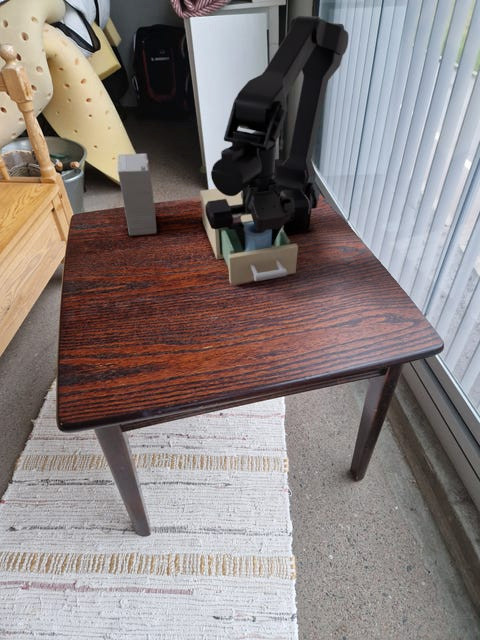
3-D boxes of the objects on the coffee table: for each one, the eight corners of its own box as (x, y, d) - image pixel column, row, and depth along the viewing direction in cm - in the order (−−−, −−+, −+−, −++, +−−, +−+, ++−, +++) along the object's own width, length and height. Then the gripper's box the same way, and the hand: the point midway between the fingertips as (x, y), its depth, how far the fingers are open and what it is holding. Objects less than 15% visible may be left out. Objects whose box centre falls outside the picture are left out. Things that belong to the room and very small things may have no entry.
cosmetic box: (128, 218, 102) (114, 154, 91) (158, 215, 103) (147, 150, 92) (128, 237, 96) (113, 170, 85) (160, 234, 97) (148, 167, 86)
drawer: (304, 287, 81) (307, 260, 76) (236, 299, 78) (235, 273, 74) (273, 234, 94) (274, 209, 90) (214, 244, 92) (213, 218, 87)
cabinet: (282, 248, 92) (284, 215, 86) (216, 259, 89) (214, 226, 84) (261, 213, 103) (262, 182, 97) (202, 222, 100) (199, 190, 94)
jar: (266, 241, 86) (266, 219, 83) (274, 256, 82) (275, 233, 79) (240, 245, 85) (240, 223, 82) (247, 261, 82) (247, 238, 78)
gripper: (215, 200, 65) (220, 279, 76) (327, 184, 68) (316, 262, 79) (201, 170, 73) (207, 245, 84) (302, 157, 76) (296, 231, 87)
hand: (257, 246), depth 83 cm, fingers closed on jar, 5 cm apart
